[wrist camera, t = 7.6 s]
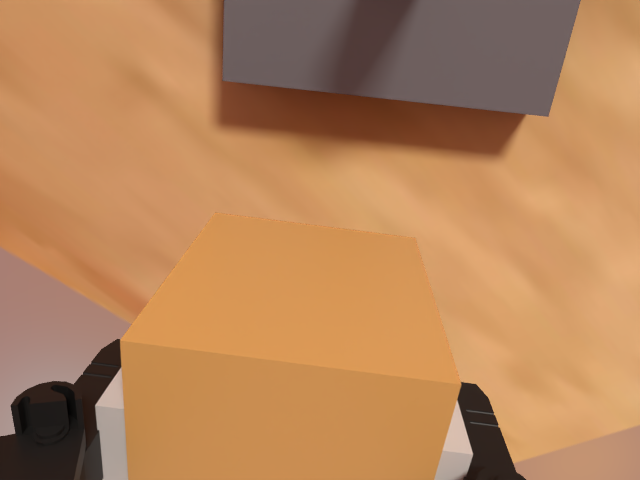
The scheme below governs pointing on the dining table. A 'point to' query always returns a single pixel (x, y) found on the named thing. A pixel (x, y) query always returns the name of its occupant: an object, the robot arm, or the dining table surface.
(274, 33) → the dark gray slab
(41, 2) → the dining table surface
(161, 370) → the orange toy cube
